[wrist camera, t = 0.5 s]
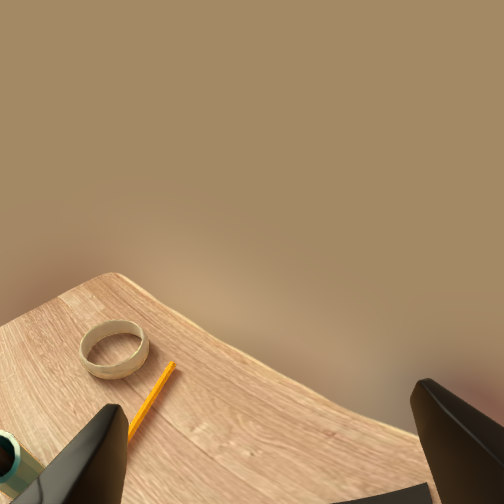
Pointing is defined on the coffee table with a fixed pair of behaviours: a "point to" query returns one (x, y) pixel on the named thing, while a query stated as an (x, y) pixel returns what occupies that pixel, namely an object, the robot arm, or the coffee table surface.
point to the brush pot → (18, 466)
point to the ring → (120, 368)
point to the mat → (398, 497)
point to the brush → (5, 461)
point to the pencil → (150, 400)
